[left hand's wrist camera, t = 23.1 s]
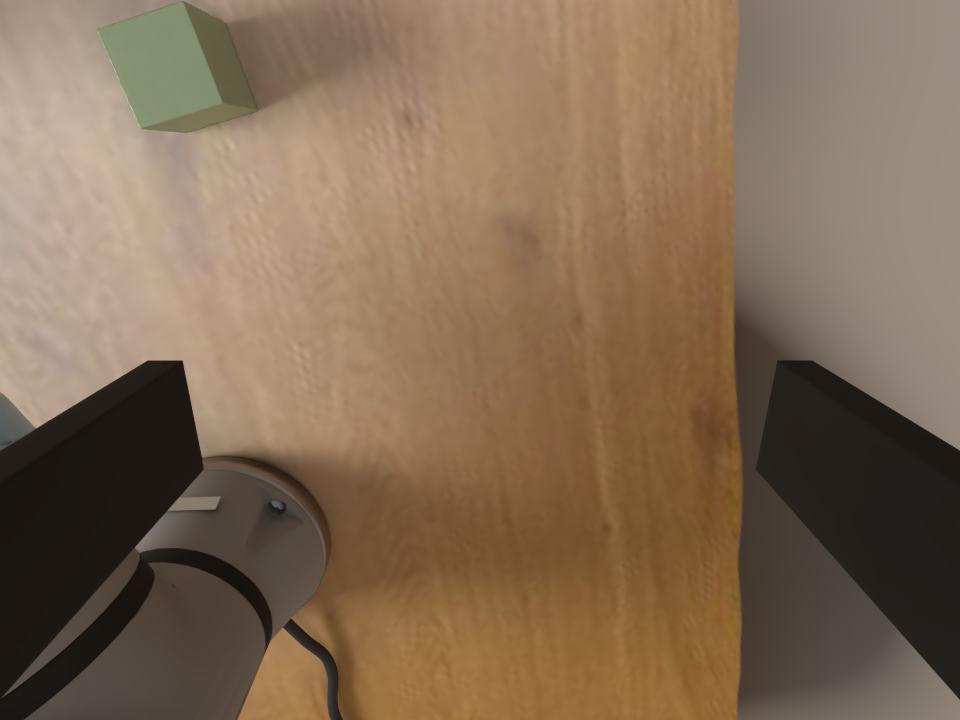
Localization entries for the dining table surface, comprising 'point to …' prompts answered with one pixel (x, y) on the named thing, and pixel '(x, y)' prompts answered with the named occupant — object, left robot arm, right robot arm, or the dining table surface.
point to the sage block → (178, 69)
